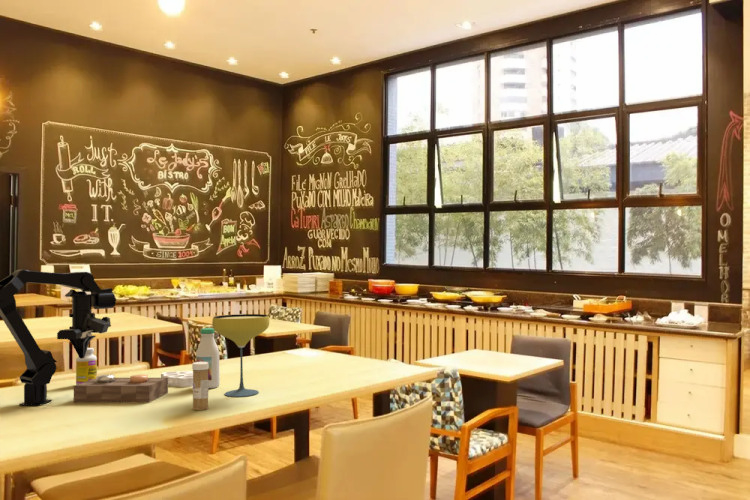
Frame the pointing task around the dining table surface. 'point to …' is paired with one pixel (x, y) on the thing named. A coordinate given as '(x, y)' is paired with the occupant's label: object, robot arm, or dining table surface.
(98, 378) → the knob steel
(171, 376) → the white recessed tray
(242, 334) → the cocktail glass
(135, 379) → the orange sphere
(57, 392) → the dining table surface
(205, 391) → the sprinkles bottle
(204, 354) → the milk bottle
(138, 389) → the brown flat block
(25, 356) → the robot arm
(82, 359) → the supplement bottle
